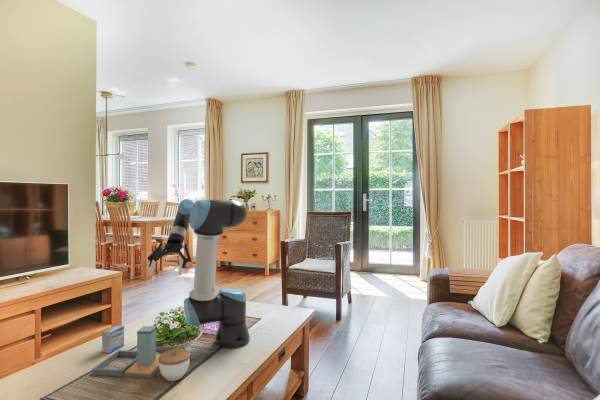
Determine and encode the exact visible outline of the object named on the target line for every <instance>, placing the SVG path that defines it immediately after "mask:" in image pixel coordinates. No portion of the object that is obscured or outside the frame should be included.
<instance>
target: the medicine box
mask: <svg viewBox="0 0 600 400" xmlns="http://www.w3.org/2000/svg"><path fill="white" fill-rule="evenodd" d="M101 336H102V337H101V343H102V344H101V352H102V353H106V354H113V353H115V352H117V351H118V350H120V348H123V347H124V346H125V326H124V325H118V324H117V325H114V326H112V327H110V328H108V329H106V330H104V331H102V332H101Z"/></svg>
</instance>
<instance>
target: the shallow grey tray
mask: <svg viewBox="0 0 600 400" xmlns="http://www.w3.org/2000/svg"><path fill="white" fill-rule="evenodd" d="M119 357H128V358H129V357H130V358H134V359H133V360H132V361H130V362H129V363H128V364H126V365H125V366H124V367H123V368H122V369H119V368H118V369H117V368H105V367H106V366H108V365H109V364H110V363H112V362H114V361H115V360H116V359H117V358H119ZM136 362H137V350H126V349H125V350H122V349H121V350H120V349H117V350H116V351H114V352H113V353H112V354H111V355H109V356H108V357H107V358H106V359H103V361H101V362H100V363H98V364H97V365H96V366H94V367H93V368H91V375H93V376H108V377H109V376H111V377H112V376H113V377H123V376H122V374H123V373H125V371H126V370H128V369H129V368H130V367H131V366H132V365H134V364H135V363H136Z"/></svg>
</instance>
